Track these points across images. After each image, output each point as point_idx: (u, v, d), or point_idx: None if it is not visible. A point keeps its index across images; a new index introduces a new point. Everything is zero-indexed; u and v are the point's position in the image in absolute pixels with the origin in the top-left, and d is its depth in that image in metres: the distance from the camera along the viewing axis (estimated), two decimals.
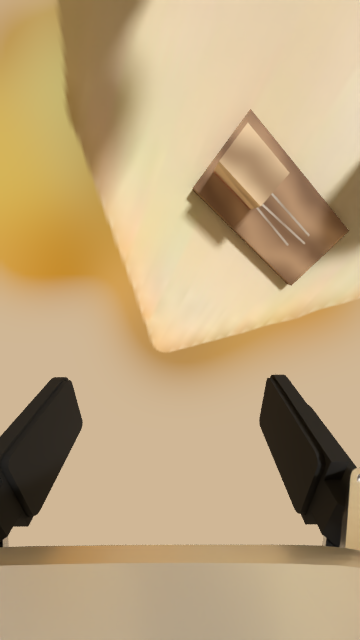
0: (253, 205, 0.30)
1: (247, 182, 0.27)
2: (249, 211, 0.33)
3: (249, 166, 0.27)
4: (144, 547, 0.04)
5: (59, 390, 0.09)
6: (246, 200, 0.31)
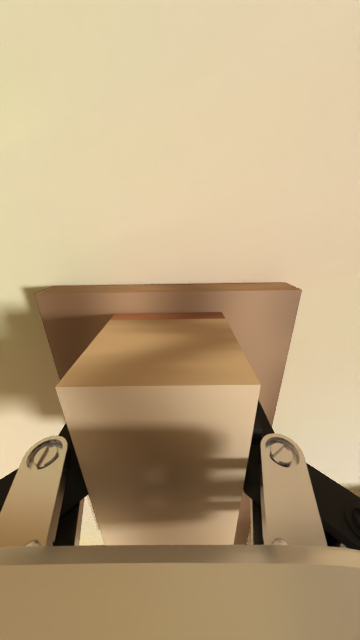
0: None
1: (112, 495, 0.07)
2: None
3: (150, 475, 0.06)
4: (144, 547, 0.04)
5: None
6: None
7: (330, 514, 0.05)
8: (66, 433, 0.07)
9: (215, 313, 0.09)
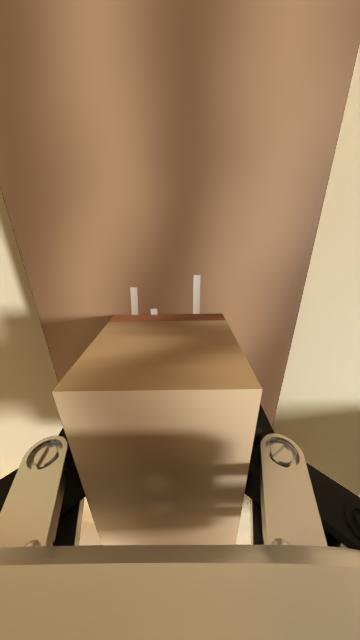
0: None
1: (110, 500, 0.07)
2: (107, 290, 0.09)
3: (149, 480, 0.06)
4: (144, 547, 0.04)
5: None
6: None
7: (330, 514, 0.05)
8: None
9: (215, 314, 0.09)
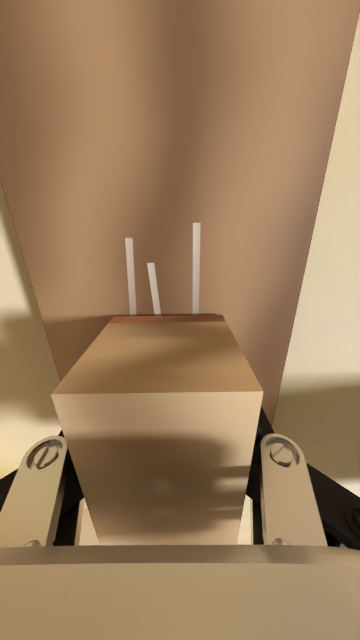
0: None
1: (110, 504, 0.07)
2: (100, 241, 0.08)
3: (149, 484, 0.06)
4: (144, 547, 0.04)
5: None
6: None
7: (330, 514, 0.05)
8: None
9: (215, 316, 0.09)
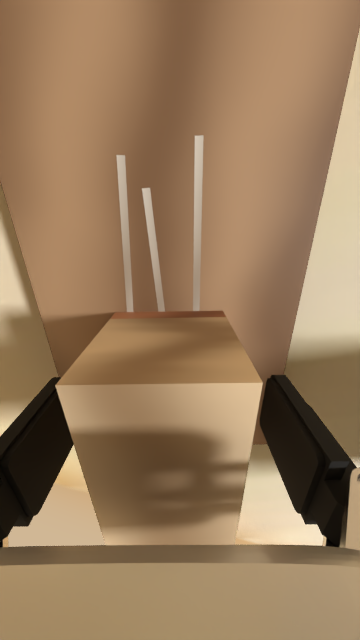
0: None
1: (112, 494, 0.07)
2: (88, 160, 0.07)
3: (150, 474, 0.06)
4: (144, 547, 0.04)
5: None
6: None
7: None
8: None
9: (216, 312, 0.09)
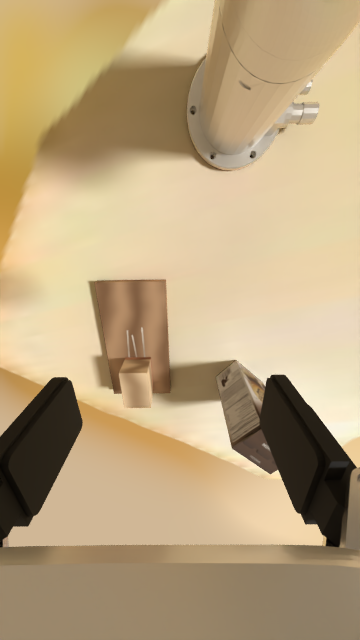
0: None
1: (126, 393, 0.38)
2: (121, 330, 0.38)
3: (132, 388, 0.37)
4: (144, 547, 0.04)
5: (59, 390, 0.09)
6: None
7: None
8: None
9: (149, 357, 0.40)
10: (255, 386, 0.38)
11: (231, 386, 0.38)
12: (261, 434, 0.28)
